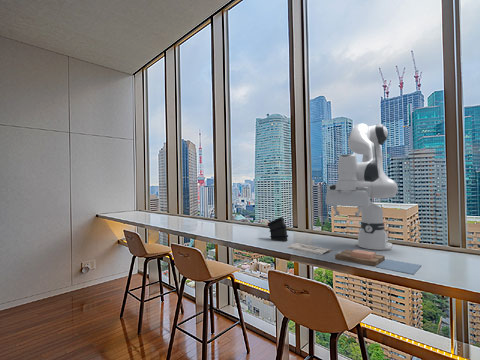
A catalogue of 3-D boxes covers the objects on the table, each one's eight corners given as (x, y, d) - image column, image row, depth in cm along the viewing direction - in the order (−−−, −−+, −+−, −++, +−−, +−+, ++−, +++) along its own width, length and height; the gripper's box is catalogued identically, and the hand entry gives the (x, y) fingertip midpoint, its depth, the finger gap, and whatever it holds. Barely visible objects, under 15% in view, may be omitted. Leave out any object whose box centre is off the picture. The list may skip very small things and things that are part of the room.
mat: (386, 259, 128) (386, 259, 128) (421, 265, 118) (421, 265, 118) (375, 267, 116) (375, 266, 116) (413, 274, 107) (413, 273, 107)
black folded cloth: (289, 239, 168) (280, 217, 172) (273, 246, 175) (264, 224, 179) (292, 238, 171) (283, 216, 175) (276, 245, 178) (267, 223, 182)
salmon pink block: (351, 255, 128) (351, 251, 128) (355, 253, 132) (355, 249, 132) (371, 259, 121) (371, 255, 121) (375, 256, 126) (375, 252, 126)
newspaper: (333, 252, 146) (333, 247, 145) (322, 258, 137) (321, 253, 137) (298, 245, 162) (297, 241, 162) (286, 250, 154) (285, 246, 153)
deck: (346, 253, 140) (346, 249, 140) (384, 260, 128) (384, 255, 128) (335, 258, 130) (335, 254, 130) (375, 266, 117) (375, 261, 117)
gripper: (372, 187, 126) (372, 216, 126) (329, 187, 139) (328, 213, 138) (368, 186, 121) (368, 217, 121) (324, 186, 134) (324, 214, 133)
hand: (346, 215), depth 130 cm, fingers open, 8 cm apart
